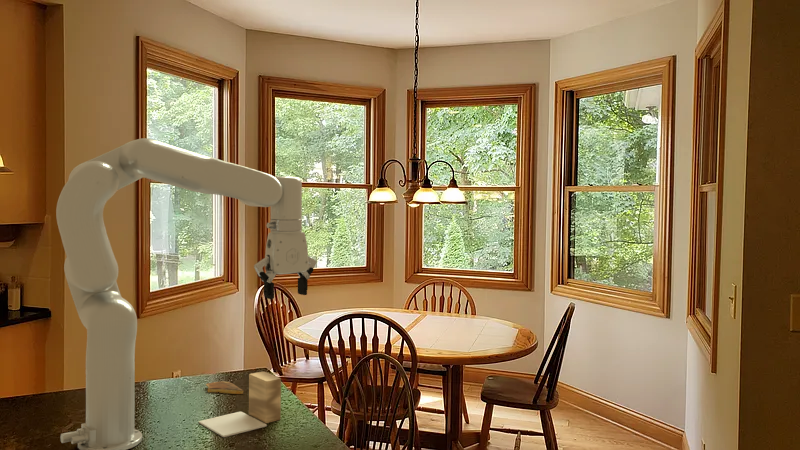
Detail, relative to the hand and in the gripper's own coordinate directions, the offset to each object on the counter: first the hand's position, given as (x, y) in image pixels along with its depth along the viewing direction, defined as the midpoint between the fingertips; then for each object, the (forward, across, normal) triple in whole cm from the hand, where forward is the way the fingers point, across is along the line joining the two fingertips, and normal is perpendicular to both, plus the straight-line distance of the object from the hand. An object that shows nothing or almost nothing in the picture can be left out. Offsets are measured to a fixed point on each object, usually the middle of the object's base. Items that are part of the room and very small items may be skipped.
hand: (286, 296), depth 161 cm
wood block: (+29, -6, 0) cm, 29 cm away
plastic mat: (+29, -15, 0) cm, 32 cm away
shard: (+29, -2, +26) cm, 39 cm away
